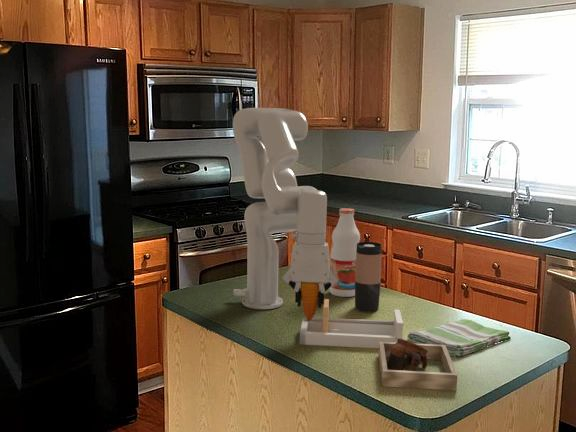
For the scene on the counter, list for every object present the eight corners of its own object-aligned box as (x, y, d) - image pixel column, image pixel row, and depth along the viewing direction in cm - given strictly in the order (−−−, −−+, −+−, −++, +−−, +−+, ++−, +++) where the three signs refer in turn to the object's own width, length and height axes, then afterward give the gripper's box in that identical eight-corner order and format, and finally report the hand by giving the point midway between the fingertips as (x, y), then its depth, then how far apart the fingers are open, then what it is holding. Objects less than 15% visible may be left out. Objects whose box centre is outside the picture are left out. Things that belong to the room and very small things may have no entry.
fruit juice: (346, 287, 217) (349, 206, 212) (364, 295, 209) (367, 210, 205) (324, 291, 212) (326, 208, 207) (341, 299, 204) (344, 212, 200)
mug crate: (382, 386, 141) (383, 371, 141) (378, 355, 159) (379, 341, 158) (456, 390, 140) (457, 375, 139) (444, 358, 157) (445, 344, 157)
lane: (299, 344, 165) (300, 318, 164) (302, 329, 176) (303, 305, 175) (401, 349, 163) (403, 323, 162) (398, 334, 174) (399, 309, 172)
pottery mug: (376, 366, 153) (389, 334, 155) (409, 381, 155) (422, 349, 156) (395, 374, 142) (409, 339, 143) (432, 390, 143) (445, 356, 145)
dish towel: (405, 340, 171) (405, 327, 170) (459, 323, 185) (460, 311, 184) (457, 361, 158) (458, 347, 157) (512, 341, 171) (513, 328, 171)
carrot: (320, 319, 171) (322, 264, 168) (315, 325, 166) (316, 269, 164) (303, 317, 173) (304, 262, 170) (297, 322, 168) (298, 267, 165)
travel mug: (378, 305, 199) (381, 242, 195) (379, 313, 191) (382, 247, 188) (354, 304, 199) (356, 241, 196) (354, 311, 192) (356, 246, 189)
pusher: (322, 342, 166) (323, 307, 165) (323, 332, 173) (324, 299, 172) (338, 342, 166) (339, 308, 164) (339, 333, 173) (340, 299, 171)
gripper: (276, 239, 163) (275, 308, 166) (343, 242, 161) (341, 312, 164) (280, 234, 170) (279, 300, 173) (344, 236, 169) (342, 303, 172)
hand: (309, 305), depth 169 cm, fingers closed on carrot, 4 cm apart
